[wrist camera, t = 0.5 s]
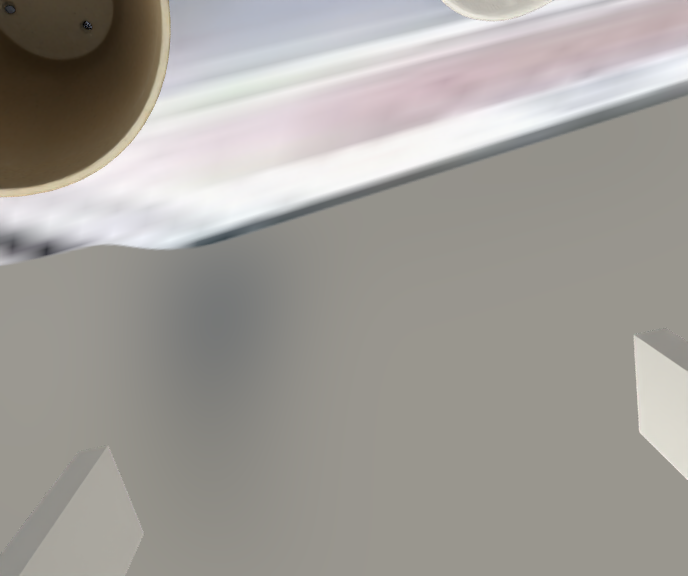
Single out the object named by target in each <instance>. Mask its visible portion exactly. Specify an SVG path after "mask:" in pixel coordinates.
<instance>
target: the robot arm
mask: <svg viewBox="0 0 688 576" xmlns="http://www.w3.org/2000/svg"><path fill="white" fill-rule="evenodd" d="M634 350H635V368H636V385H637V401H638V419H639V432H640V433H641V434H642V435H643V436H644V437H645V438H646V439H647V440H648V441H649V442H650V443H651V444H652V445H653V446H654V447H655V448H656V449H657V450H658V451H659V452H660V453H661V454H662V455H663V456H664V457H665V458H666V459H667V460H668V461H669V462H670V463H671V464H672V465H673V466H674V467H675V468H676V469H677V470H678V471H679V472H680V473H681V474H682V475H683V476H684V477H685V478H686V479H687V480H688V341H686V340H685V339H683V338H681V337H680V336H678V335H676V334H675V333H673V332H672V331H670V330H668V329H666V328H662V329H658V330H652V331H648V332H643V333H638V334H634ZM143 534H144V532H143V529H142V527H141V524H140V522H139V520H138V517H137V515H136V512H135V510H134V507H133V505H132V502H131V500H130V497H129V495H128V493H127V490H126V488H125V485H124V483H123V480H122V478H121V475H120V473H119V470H118V468H117V465H116V463H115V460H114V458H113V456H112V453H111V451H110V448H109V446H108V445H105V446H101V447H96V448H91V449H87V450H82V451H78V453H77V454H76V455H75V457H74V458H73V459H72V460H71V462H70V463H69V464H68V466H67V467H66V468H65V470H64V471H63V472H62V474H61V475H60V476H59V478H58V479H57V480H56V482H55V483H54V484H53V486H52V487H51V488H50V490H49V491H48V492H47V494H46V495H45V496H44V497H43V499H42V500H41V501H40V503H39V504H38V505H37V507H36V508H35V510H34V511H33V512H32V513H31V515H30V516H29V517H28V518H27V520H26V521H25V522H24V524H23V525H22V526H21V528H20V529H19V530H18V532H17V533H16V534H15V536H14V537H13V538H12V540H11V541H10V542H9V543H8V545H7V546H6V547H5V549H4V550H3V552H2V553H1V554H0V576H125V574H126V572H127V570H128V568H129V566H130V563H131V561H132V559H133V557H134V554H135V552H136V550H137V548H138V546H139V543H140V541H141V539H142V537H143Z"/></svg>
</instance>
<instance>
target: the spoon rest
mask: <svg viewBox="0 0 688 576" xmlns="http://www.w3.org/2000/svg"><path fill="white" fill-rule="evenodd" d="M441 1H442V2H443V3H444V4H446V5H447V6H448V7H449V8H451V9H452V10H454V11H455V12H457V13H459V14H461V15H463V16H466V17H469V18H472V19H476V20H483V21H503V20H509V19H513V18H517V17H520V16H523V15H525V14H528V13H530V12H532V11H534V10H537V9H539V8H541V7H543V6H544V5H546V4H548V3H550V2H552V1H553V0H441Z"/></svg>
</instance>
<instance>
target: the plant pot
mask: <svg viewBox="0 0 688 576" xmlns="http://www.w3.org/2000/svg"><path fill="white" fill-rule="evenodd" d="M8 5H10V6H13V7H14V8H15V12H14V13H8V12H7V11H6V10H5V7H6V6H8ZM85 21H87V22H89V23H90V24H91V26H92V29H91V30H87V29H85V27H84V25H83V23H84V22H85ZM169 49H170V9H169V0H0V197H18V196H27V195H32V194H38V193H43V192H49V191H53V190H56V189H59V188H62V187H65V186H68V185H70V184H73V183H75V182H78V181H80V180H82V179H84V178H86V177H88V176H89V175H91V174H93V173H95V172H97V171H98V170H100V169H101V168H103V167H104V166H106V165H107V164H108V163H109V162H111V161H112V160H113V159H114V158H116V157H117V156H118V155H119V154H120V153H121V152H122V151H123V150H124V149H125V148H126V147H127V146H128V145H129V144H130V143H131V142H132V140H133V139H134V138H135V136H136V135H137V134H138V133H139V131H140V130H141V128H142V127H143V125H144V124H145V122H146V120H147V119H148V117H149V115H150V113H151V112H152V110H153V108H154V106H155V103H156V101H157V99H158V96H159V94H160V91H161V87H162V84H163V81H164V78H165V74H166V69H167V63H168V58H169Z"/></svg>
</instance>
